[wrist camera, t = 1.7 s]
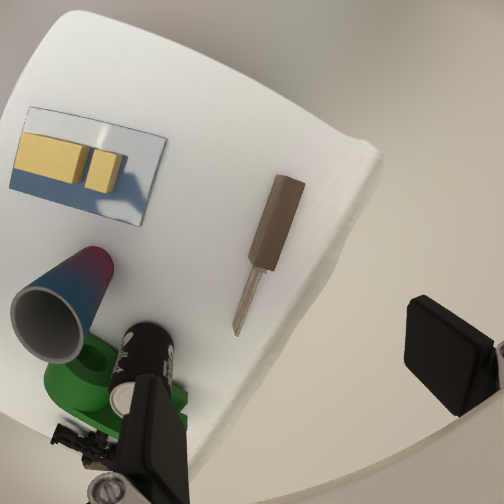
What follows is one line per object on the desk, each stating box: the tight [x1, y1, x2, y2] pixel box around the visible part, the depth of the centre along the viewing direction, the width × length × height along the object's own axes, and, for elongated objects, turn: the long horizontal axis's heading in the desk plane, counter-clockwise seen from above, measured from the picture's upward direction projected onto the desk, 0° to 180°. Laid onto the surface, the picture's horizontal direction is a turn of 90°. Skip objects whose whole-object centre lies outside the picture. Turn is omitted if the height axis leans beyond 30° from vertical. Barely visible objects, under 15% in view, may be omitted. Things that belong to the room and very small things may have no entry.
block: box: [82, 459, 111, 471], centre depth 42 cm, size 4×6×2 cm, turn 91°
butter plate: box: [9, 107, 167, 227], centre depth 30 cm, size 18×10×1 cm, turn 71°
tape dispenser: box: [44, 333, 188, 439], centre depth 33 cm, size 18×9×6 cm
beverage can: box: [108, 323, 174, 418], centre depth 32 cm, size 7×7×12 cm
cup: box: [10, 246, 114, 364], centre depth 27 cm, size 7×7×15 cm
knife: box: [233, 175, 305, 337], centre depth 35 cm, size 2×19×4 cm, turn 161°
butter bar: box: [14, 132, 91, 184], centre depth 27 cm, size 8×4×3 cm, turn 71°
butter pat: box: [85, 149, 123, 193], centre depth 29 cm, size 2×4×3 cm, turn 161°
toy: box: [50, 423, 117, 471], centre depth 38 cm, size 12×5×15 cm
